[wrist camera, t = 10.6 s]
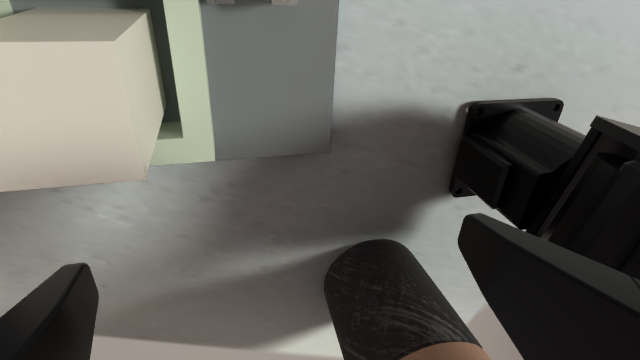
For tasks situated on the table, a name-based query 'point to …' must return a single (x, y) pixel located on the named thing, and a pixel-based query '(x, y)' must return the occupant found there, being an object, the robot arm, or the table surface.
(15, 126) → the beige rectangular block
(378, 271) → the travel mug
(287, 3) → the set of small cubes
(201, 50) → the end holder
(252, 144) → the mat
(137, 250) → the table surface
